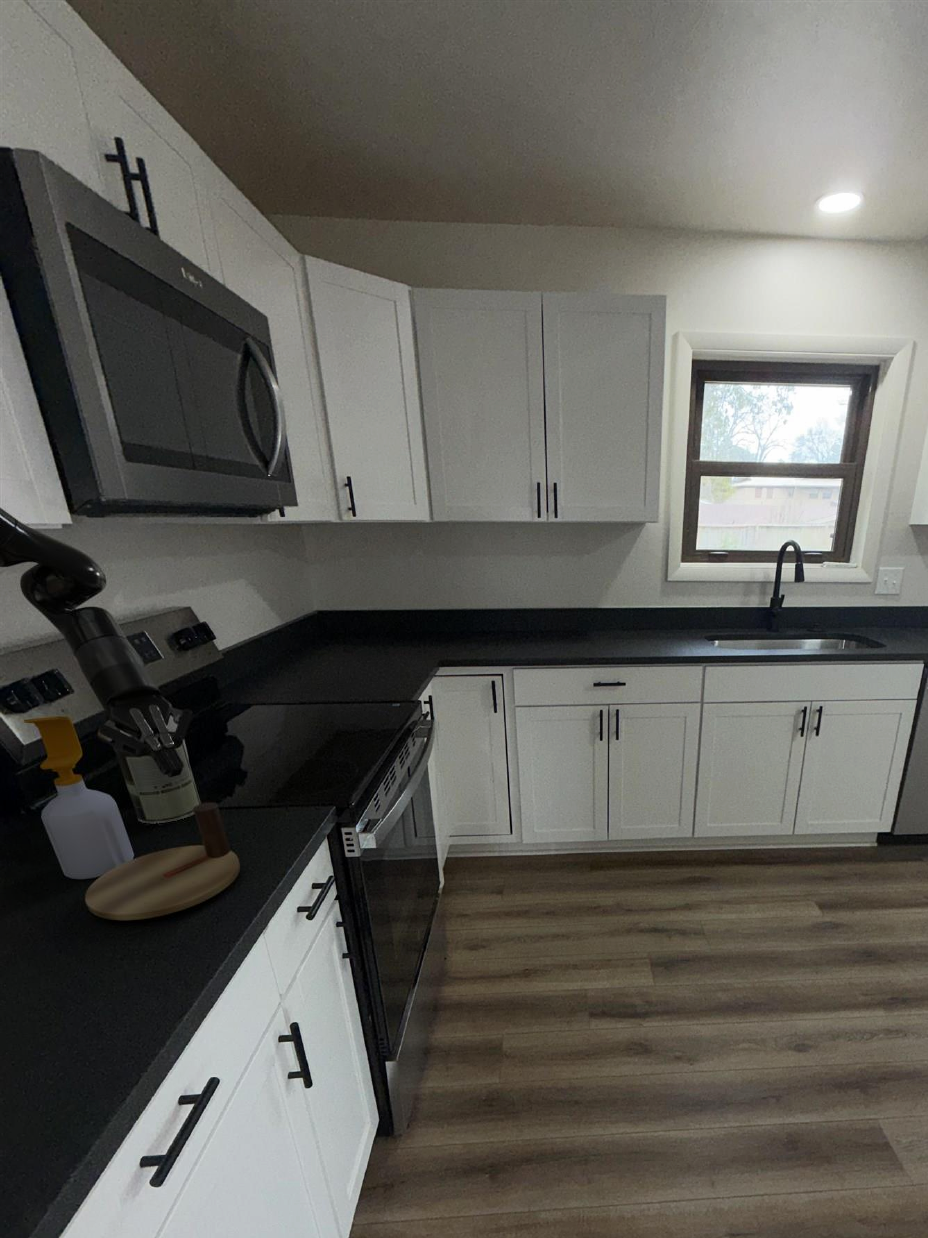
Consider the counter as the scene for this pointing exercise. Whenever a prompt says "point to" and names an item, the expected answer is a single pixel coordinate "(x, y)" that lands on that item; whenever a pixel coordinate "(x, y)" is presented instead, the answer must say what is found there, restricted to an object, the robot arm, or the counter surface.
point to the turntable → (168, 875)
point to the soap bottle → (79, 809)
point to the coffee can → (158, 788)
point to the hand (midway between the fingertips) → (175, 774)
